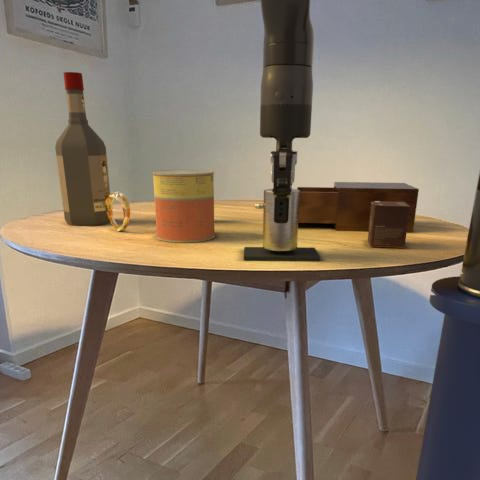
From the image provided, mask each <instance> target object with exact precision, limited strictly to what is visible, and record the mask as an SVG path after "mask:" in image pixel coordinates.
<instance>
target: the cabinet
mask: <svg viewBox="0 0 480 480" xmlns="http://www.w3.org/2000/svg"><path fill="white" fill-rule="evenodd" d="M333 188H336V189H337V190H338V191H339V192H338V204H337V217H336V224H335V223H332V225H333V226H334V229H335V231H342V232H343V231H345V232H346V231H347V232H348V231H349V232H353V231H354V232H369V222H370V212H371V202H373V201H390V202H405V203H407V204H408V205H409V206H410V209H409V217H408V225H407V233H414V228H415V221H416V214H417V206H418V198H419V191H420V189H419V188H417V187H415V186H413V185H410V184H408V183H406V182H372V181H371V182H366V181H364V182H362V181H361V182H358V181H357V182H356V181H334V182H333Z"/></svg>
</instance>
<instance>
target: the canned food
mask: <svg viewBox="0 0 480 480" xmlns="http://www.w3.org/2000/svg"><path fill="white" fill-rule="evenodd" d="M214 174H215V171H213V170H206V169H205V170H204V169H167V170H155V171H153V172H152V178H153V179H152V181H153V194H154V213H155V223H156V224H155V225H156V239H157V240H159V241H162V242H166V243H183V244H184V243H198V242H199V243H200V242H205V241H209V240H212V239H215V237H216V234H215V196H214V195H215V190H214V189H215V188H214V187H215V183H214Z"/></svg>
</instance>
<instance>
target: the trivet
mask: <svg viewBox="0 0 480 480" xmlns="http://www.w3.org/2000/svg"><path fill="white" fill-rule="evenodd" d="M243 261H281V262H282V261H284V262H285V261H289V262H290V261H292V262H293V261H295V262H296V261H299V262H300V261H301V262H303V261H304V262H320V261H321V256H320V254H319V253H318V250H317V249H316V247H311V246H309V247H305V246H303V247H302V246H301V247H299V246H297V249H295V250H290V251H272V250H267V249H264V248H263V246H244V247H243Z"/></svg>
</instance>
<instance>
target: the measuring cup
mask: <svg viewBox="0 0 480 480" xmlns="http://www.w3.org/2000/svg"><path fill="white" fill-rule="evenodd" d="M272 189H273V188H267V189H263V203H255V204H254V209H257V210H262V211H263V214H262V219H263V220H262V247H263V248H264V249H267V250H272V251H290V250H295V249H297V247H298V237H299V223H298V220H299V199H300V190H297V188H292V189H291V196H290V198H289V219H288V222H287V223H275V222H274V200H275V198H274V195H273V192H272Z"/></svg>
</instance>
